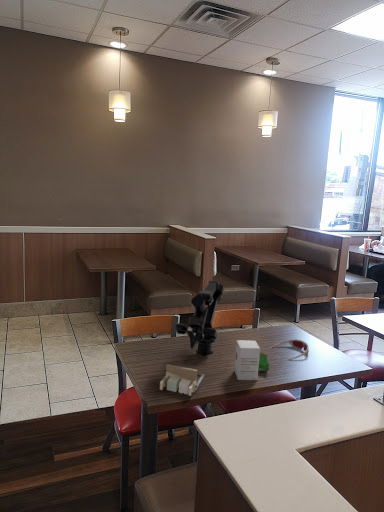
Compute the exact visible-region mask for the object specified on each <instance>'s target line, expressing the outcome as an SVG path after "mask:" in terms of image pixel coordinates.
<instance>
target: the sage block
mask: <svg viewBox="0 0 384 512" xmlns="http://www.w3.org/2000/svg"><path fill="white" fill-rule="evenodd" d="M179 383H180V379H179V378H174V377H170V378H169V380H168V381H167V387H166V391H170V392H175V393H176V392H177V391H179V389H178V388H179Z"/></svg>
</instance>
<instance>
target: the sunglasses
mask: <svg viewBox="0 0 384 512" xmlns="http://www.w3.org/2000/svg"><path fill="white" fill-rule="evenodd" d="M282 344H283V345H284V344H289V345H290V346H291V347H292V348H296V349H298V350H303V351H304V352H302V353H301V354H298V355H296V356H294V357H289V358H287V359H286V361H291V360H294V359H297V358H300V357H303V356H307V357H308V355H309V344H308V343H307V342H306V341H304V340H302V339H296V338H294V339H293V338H292V339H286V340H284V341H283V340H282V341H280V342H278V343H276V344H274V345H272V346H271V347H270V348H269V349H273V348H274V347H276V346H279V345H282Z"/></svg>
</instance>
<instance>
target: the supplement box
mask: <svg viewBox="0 0 384 512" xmlns="http://www.w3.org/2000/svg"><path fill="white" fill-rule="evenodd" d="M235 344H236V345H235V356H234V357H235V359H234V360H235V361H234V373H235V376H236V378H237V380H238V381H258V378H259V376H258V375H259V371H258V368H259V357H260V353H261V347H260V346H259V344H258V343H257V341H256V340H245V339H242V340H241V339H239V340H236V343H235Z"/></svg>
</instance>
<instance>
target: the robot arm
mask: <svg viewBox="0 0 384 512" xmlns="http://www.w3.org/2000/svg"><path fill="white" fill-rule="evenodd" d="M224 295H225V287H224V285H222V284H221V283H220V282H219V281H217V280H209V281H208V284H207V285H206V287H205V288H204V289H203V290H200V291H199V292H198V293H196V294H195V296H194V297H192V298H191V300H190V302H191V305H192V308H193V310H194V313H193V315H192V316H189V319H188V322H187V323H188V325H189V327H187V326H186V324H185V323H179V322H177V323H176V324H175V327H174V329H175V332H176V333H177V334H180V335H185V334H187V336H188V337H189V343H190V350H194V349H195V347H196V346H197V350H195V352H196V353H198V354H200V355H202V356H205V357H206V356H208V355H210V354H213V353H214V351H213V350H212V344H213V343H215V341H216V340H217V338H218V332H217V329H216V328H213V321H214V317H215V314H216V310H217V306H218V303H219V302H220V301H221V300H222V299H223V296H224Z"/></svg>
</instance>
